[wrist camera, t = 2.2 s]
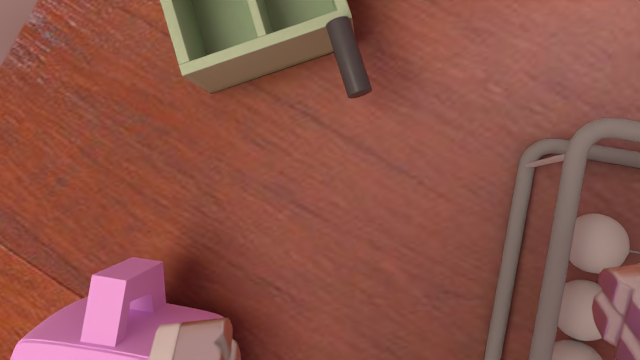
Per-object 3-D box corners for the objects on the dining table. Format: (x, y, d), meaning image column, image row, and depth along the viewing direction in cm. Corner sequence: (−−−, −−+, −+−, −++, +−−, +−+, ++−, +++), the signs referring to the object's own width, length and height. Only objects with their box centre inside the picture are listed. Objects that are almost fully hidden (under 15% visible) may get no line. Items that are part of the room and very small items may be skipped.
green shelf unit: (197, 145, 34) (375, 86, 33) (139, -55, 35) (310, -119, 34) (228, 154, 41) (375, 106, 40) (179, -13, 42) (321, -64, 41)
